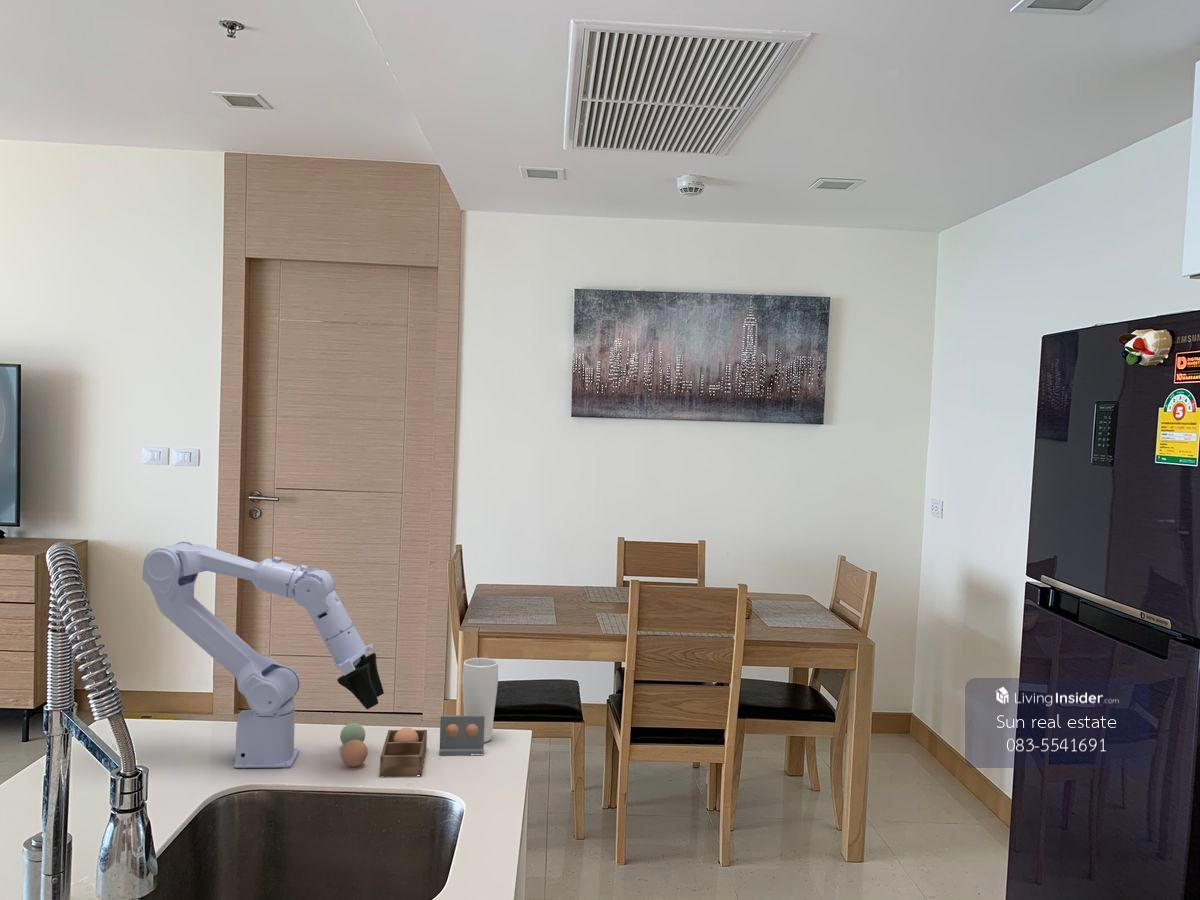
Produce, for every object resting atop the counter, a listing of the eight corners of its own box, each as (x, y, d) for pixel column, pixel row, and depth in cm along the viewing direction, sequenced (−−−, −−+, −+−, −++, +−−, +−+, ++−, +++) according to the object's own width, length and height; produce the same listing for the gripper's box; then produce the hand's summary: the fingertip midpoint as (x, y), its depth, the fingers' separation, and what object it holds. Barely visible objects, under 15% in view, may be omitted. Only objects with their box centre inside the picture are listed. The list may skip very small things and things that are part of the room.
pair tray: (379, 776, 156) (380, 756, 156) (387, 748, 169) (388, 730, 169) (421, 776, 157) (422, 756, 156) (426, 748, 170) (427, 729, 170)
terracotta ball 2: (391, 757, 164) (392, 732, 163) (394, 748, 168) (395, 724, 168) (417, 757, 164) (418, 732, 164) (419, 748, 169) (420, 724, 168)
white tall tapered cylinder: (478, 748, 171) (481, 668, 171) (452, 739, 175) (455, 661, 175) (503, 739, 177) (505, 662, 176) (478, 731, 181) (480, 655, 180)
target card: (439, 755, 167) (440, 718, 166) (439, 749, 170) (441, 713, 169) (483, 755, 168) (484, 718, 167) (483, 749, 171) (484, 713, 170)
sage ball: (338, 752, 166) (338, 727, 166) (341, 743, 171) (342, 719, 171) (363, 751, 167) (364, 727, 167) (366, 743, 172) (367, 719, 171)
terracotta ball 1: (338, 770, 158) (339, 744, 158) (342, 761, 162) (343, 736, 162) (365, 770, 158) (366, 744, 158) (368, 760, 163) (369, 735, 163)
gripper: (353, 628, 154) (391, 699, 154) (365, 616, 168) (400, 681, 169) (314, 649, 153) (353, 720, 153) (330, 635, 168) (365, 700, 168)
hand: (375, 701), depth 161 cm, fingers open, 7 cm apart
